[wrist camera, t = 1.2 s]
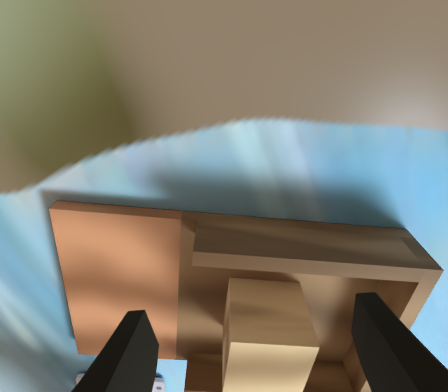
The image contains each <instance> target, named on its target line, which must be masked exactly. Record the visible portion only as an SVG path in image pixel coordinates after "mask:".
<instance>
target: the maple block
mask: <svg viewBox="0 0 448 392" xmlns="http://www.w3.org/2000/svg"><path fill="white" fill-rule="evenodd" d="M319 348H320V347H319V344H318V340H317V337H316V334H315V330H314V327H313V324H312V320H311V317H310V314H309V310H308V307H307V304H306V300H305V297H304V294H303V290H302V287H301V284H300V283H296V282H282V281H268V280H254V279H241V278H229V284H228V291H227V298H226V305H225V313H224V320H223V372H222V392H303V390H304V387H305V384H306V382H307V379H308V377H309V374H310V371H311V369H312V366H313V364H314V361H315V358H316V356H317V353H318V351H319Z"/></svg>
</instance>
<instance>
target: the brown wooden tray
mask: <svg viewBox="0 0 448 392" xmlns="http://www.w3.org/2000/svg"><path fill="white" fill-rule="evenodd" d="M49 212H50V217H51V222H52V227H53V232H54V237H55V242H56V246H57V251H58V256H59V261H60V266H61V271H62V276H63V281H64V286H65V291H66V296H67V301H68V306H69V310H70V315H71V320H72V325H73V330H74V335H75V340H76V345H77V350H78V354H88V355H99V353H100V352H101V350H102V349H103V347H104V346H105V344H106V343H107V341H108V340H109V338H110V337H111V335H112V334H113V332H114V331H115V329H116V328H117V326H118V325H119V323H120V322H121V320H122V319H123V317H124V316H125V314H126V313H127V312H128V311H134V310H145V311H146V314H147V316H148V318H149V321H150V323H151V326H152V328H153V331H154V333H155V336H156V338H157V341H158V343H159V352H158V359H174V360H187V369H186V379H185V388H184V392H222V372H223V320H224V313H225V305H226V298H227V291H228V284H229V278H241V279H254V280H268V281H282V282H296V283H300V284H301V287H302V290H303V294H304V297H305V300H306V304H307V307H308V310H309V314H310V317H311V320H312V324H313V327H314V330H315V334H316V337H317V340H318V344H319V347H320V348H319V351H318V353H317V356H316V358H315V361H314V364H313V366H312V369H311V371H310V374H309V377H308V379H307V382H306V384H305V387H304V390H303V392H371V389H370V387H369V384H368V382H367V379H366V377H365V374H364V372H363V369H362V367H361V364H360V361H359V358H358V354H357V351H356V348H355V344H354V341H353V337H352V333H351V329H352V321H353V312H354V304H355V295H356V293H368V292H376V293H377V294H378V295H379V296H380V297H381V299H382V300H383V301H384V302H385V303H386V304H387V306H388V307H389V308H390V309H391V310H392V311H393V312H394V314H395V315H396V316H397V317H398V318H399V319H400V320H401V321H402V323H403V324H404V325H405V326H406V327H407V328H408V329H409V330H410V328H411V326H412V325H413V323H414V321H415V319H416V318H417V316H418V314H419V312H420V311H421V309H422V307H423V306H424V304H425V302H426V300H427V299H428V297H429V295H430V293H431V292H432V290H433V288H434V286H435V285H436V283H437V281H438V279H439V278H440V276H441V274H442V273H443V271H444V270H443V269H442V268H441V267H440V266H439V265H438V264H437V262H436V261H435V260H434V259H433V258H432V257H431V256H430V255H429V254H428V253H427V251H426V250H425V249H424V248H423V247H422V246H421V245H420V244H419V243H418V241H417V240H416V239H415V238H414V237H413V236H412V235H411V234H410V233H409V231H408V230H407V229H397V228H385V227H373V226H360V225H348V224H336V223H324V222H311V221H299V220H287V219H275V218H262V217H250V216H238V215H225V214H213V213H201V212H189V211H176V210H164V209H152V208H140V207H127V206H115V205H103V204H91V203H78V202H66V201H56V202H55V203H54V204H53V205H52V206H51V207H50V208H49Z"/></svg>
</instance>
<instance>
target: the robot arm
mask: <svg viewBox="0 0 448 392" xmlns="http://www.w3.org/2000/svg"><path fill="white" fill-rule="evenodd" d="M351 333H352V337H353V341H354V344H355V348H356V351H357V354H358V358H359V361H360V364H361V367H362V369H363V372H364V374H365V377H366V379H367V382H368V384H369V387H370V389H371V392H448V369H447V368H446V367H445V366H444V365H443V364H442V363H441V362H440V361H439V360H438V359H437V358H436V357H435V356H434V355H433V354H432V353H431V352H430V351H429V350H428V349H427V348H426V347H425V346H424V345H423V344H422V343H421V342H420V341H419V340H418V339H417V338H416V337H415V336H414V335H413V333H412V332H411V331H410V330H409V329H408V328H407V327H406V326H405V325H404V324H403V323H402V321H401V320H400V319H399V318H398V317H397V316H396V315H395V314H394V312H393V311H392V310H391V309H390V308H389V307H388V306H387V304H386V303H385V302H384V301H383V300H382V299H381V297H380V296H379V295H378V294H377V293H376V292H368V293H356V295H355V304H354V312H353V321H352V329H351ZM158 352H159V343H158V341H157V338H156V336H155V333H154V331H153V328H152V326H151V323H150V321H149V318H148V316H147V314H146V311H145V310H134V311H128V312H127V313H126V314H125V316H124V317H123V319H122V320H121V322H120V323H119V325H118V326H117V328H116V329H115V331H114V332H113V334H112V335H111V337H110V338H109V340H108V341H107V343H106V344H105V346H104V347H103V349H102V350H101V352H100V353H99V355H98V356H97V357H96V359H95V360H94V362H93V363H92V364H91V366H90V367H89V369H88V370H87V372H86V373H85V374H78V375H77V377H76V384H77V385H76V386H75V388H74V389H73V390H72V392H165V380H164V379H162V378H155V376H156V368H157V361H158Z"/></svg>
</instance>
